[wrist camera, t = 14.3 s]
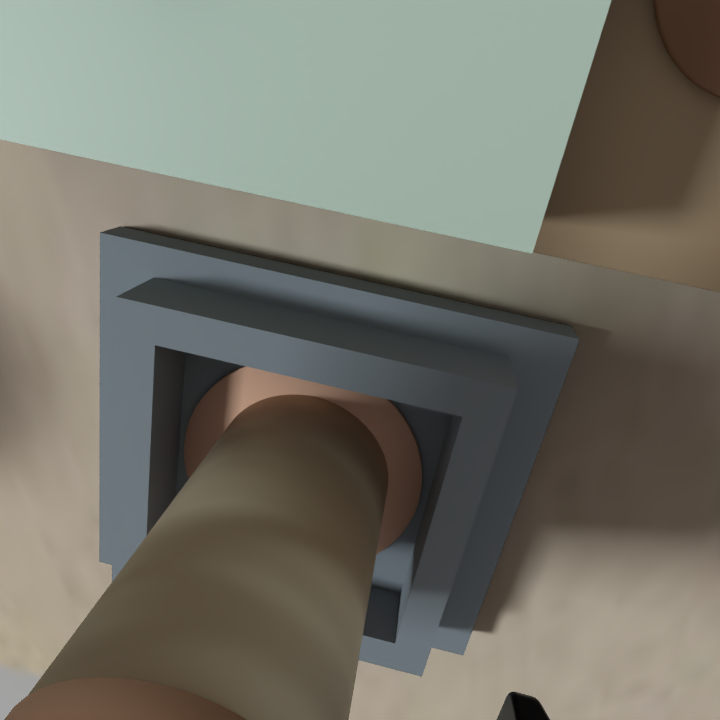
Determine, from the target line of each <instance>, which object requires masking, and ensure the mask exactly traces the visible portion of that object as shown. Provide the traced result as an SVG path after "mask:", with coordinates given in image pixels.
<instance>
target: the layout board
mask: <svg viewBox="0 0 720 720" xmlns="http://www.w3.org/2000/svg"><path fill="white" fill-rule="evenodd" d="M533 252H535V253H540V254H544V255H549V256H554V257H558V258H563V259H568V260H572V261H577V262H582V263H586V264H591V265H596V266H600V267H605V268H610V269H614V270H619V271H624V272H628V273H633V274H638V275H642V276H647V277H651V278H656V279H661V280H665V281H670V282H675V283H679V284H684V285H689V286H693V287H698V288H703V289H707V290H712V291H717V292H720V0H611V3H610V7H609V10H608V13H607V16H606V20H605V23H604V26H603V29H602V32H601V36H600V39H599V42H598V45H597V48H596V52H595V55H594V58H593V61H592V64H591V68H590V71H589V74H588V77H587V80H586V84H585V87H584V90H583V93H582V96H581V100H580V103H579V106H578V109H577V112H576V116H575V119H574V122H573V125H572V128H571V132H570V135H569V138H568V141H567V144H566V148H565V151H564V154H563V157H562V160H561V164H560V167H559V170H558V173H557V176H556V180H555V183H554V186H553V189H552V192H551V196H550V199H549V202H548V205H547V209H546V212H545V215H544V218H543V221H542V225H541V228H540V231H539V234H538V237H537V241H536V244H535V247H534V250H533Z"/></svg>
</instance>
